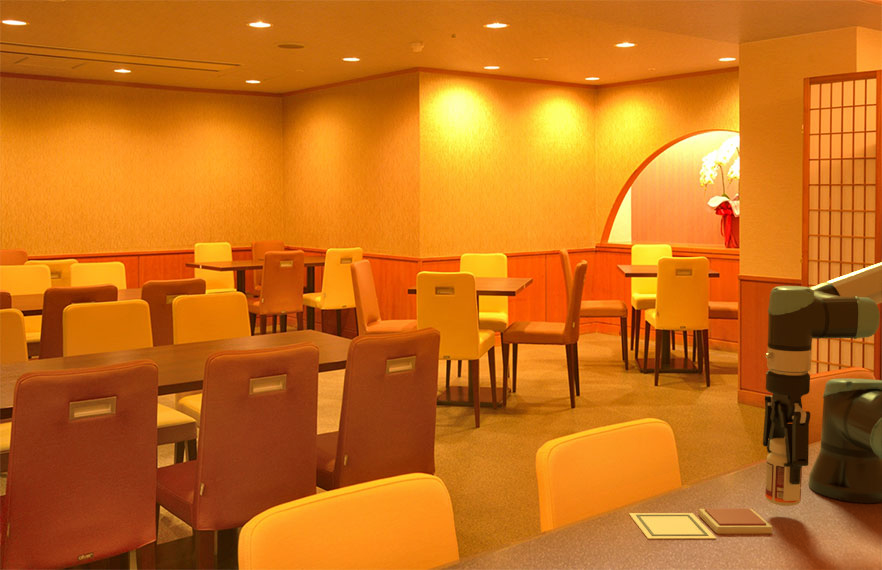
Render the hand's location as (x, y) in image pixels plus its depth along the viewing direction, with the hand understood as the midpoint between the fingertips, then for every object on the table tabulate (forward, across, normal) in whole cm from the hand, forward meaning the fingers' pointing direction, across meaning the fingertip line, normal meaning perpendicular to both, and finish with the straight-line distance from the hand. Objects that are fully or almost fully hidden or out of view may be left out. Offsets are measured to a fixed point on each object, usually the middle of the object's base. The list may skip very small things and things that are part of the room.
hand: (782, 493), depth 167 cm
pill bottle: (+2, 0, 0) cm, 2 cm away
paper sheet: (+4, +5, -23) cm, 24 cm away
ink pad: (+4, +4, -11) cm, 12 cm away
